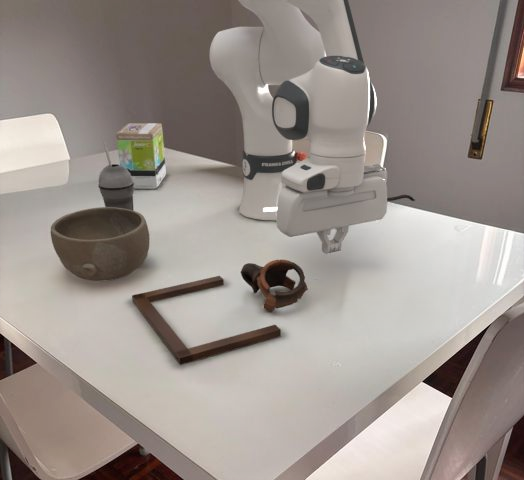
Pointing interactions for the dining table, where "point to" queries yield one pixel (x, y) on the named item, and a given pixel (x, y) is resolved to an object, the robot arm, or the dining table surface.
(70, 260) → the bowl
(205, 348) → the frame
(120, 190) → the beverage cup
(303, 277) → the broken brown mug
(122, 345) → the dining table surface
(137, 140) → the tea box
